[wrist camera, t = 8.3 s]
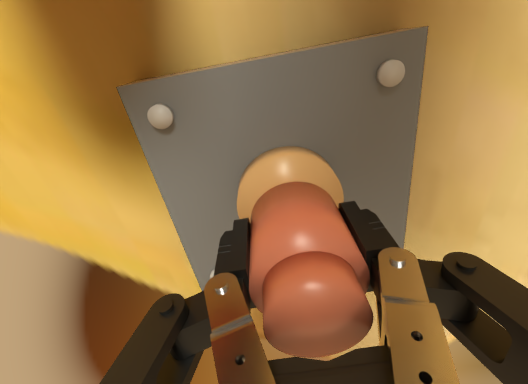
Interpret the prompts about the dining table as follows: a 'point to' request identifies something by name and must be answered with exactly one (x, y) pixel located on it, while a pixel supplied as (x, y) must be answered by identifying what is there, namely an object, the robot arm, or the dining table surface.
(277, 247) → the orange rounded knob
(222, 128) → the square plate with knob
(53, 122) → the dining table surface
